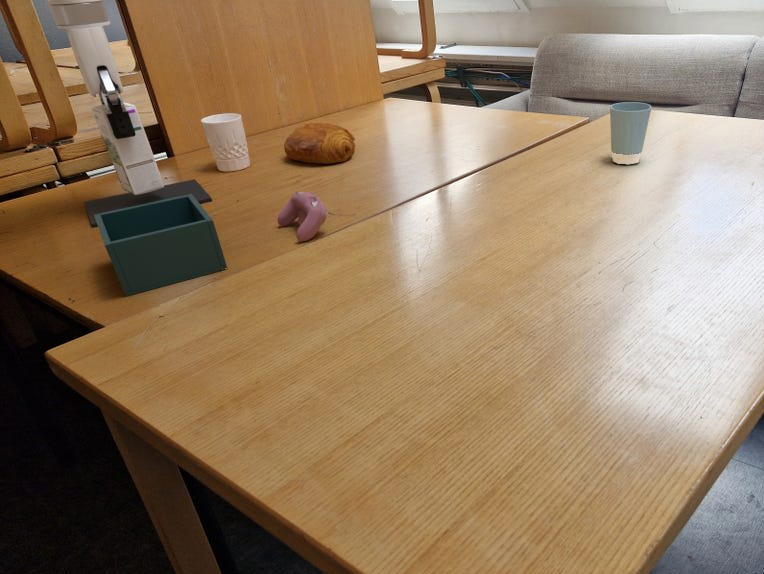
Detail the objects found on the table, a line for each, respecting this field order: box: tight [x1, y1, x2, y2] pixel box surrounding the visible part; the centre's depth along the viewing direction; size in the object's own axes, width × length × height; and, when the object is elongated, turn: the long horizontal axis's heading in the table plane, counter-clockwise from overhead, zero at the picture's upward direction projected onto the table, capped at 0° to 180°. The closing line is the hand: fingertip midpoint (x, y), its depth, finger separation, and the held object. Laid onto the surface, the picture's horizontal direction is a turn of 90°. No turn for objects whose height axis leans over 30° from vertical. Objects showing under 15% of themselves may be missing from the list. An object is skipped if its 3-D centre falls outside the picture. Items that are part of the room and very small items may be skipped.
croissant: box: [283, 122, 356, 165], centre depth 133 cm, size 14×16×8 cm
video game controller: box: [277, 190, 328, 243], centre depth 99 cm, size 10×5×7 cm, turn 35°
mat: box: [83, 178, 213, 228], centre depth 114 cm, size 20×14×1 cm
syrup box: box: [90, 101, 165, 195], centre depth 109 cm, size 6×6×14 cm
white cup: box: [200, 113, 252, 173], centre depth 128 cm, size 8×8×10 cm
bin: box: [94, 194, 228, 297], centre depth 89 cm, size 14×14×8 cm
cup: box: [609, 101, 652, 155], centre depth 120 cm, size 8×8×10 cm
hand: (122, 132), depth 107 cm, fingers closed on syrup box, 6 cm apart
